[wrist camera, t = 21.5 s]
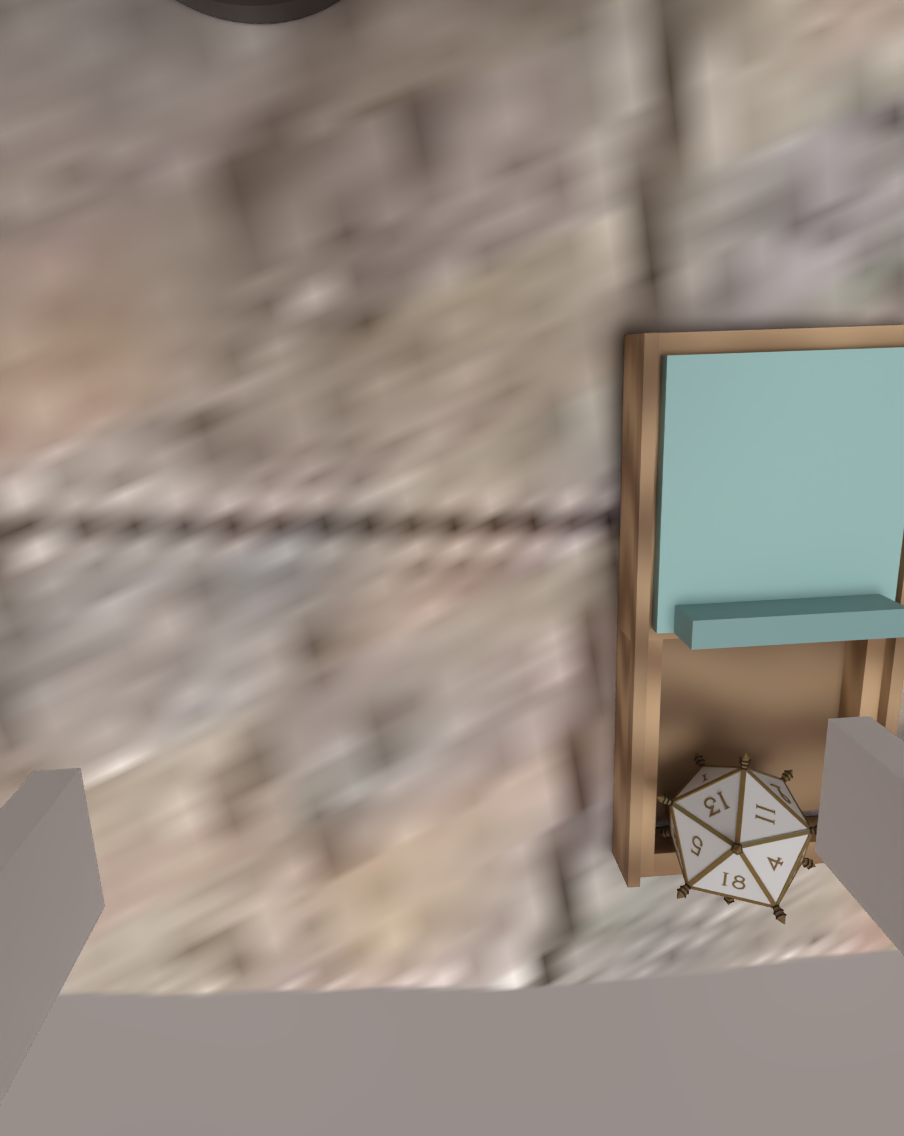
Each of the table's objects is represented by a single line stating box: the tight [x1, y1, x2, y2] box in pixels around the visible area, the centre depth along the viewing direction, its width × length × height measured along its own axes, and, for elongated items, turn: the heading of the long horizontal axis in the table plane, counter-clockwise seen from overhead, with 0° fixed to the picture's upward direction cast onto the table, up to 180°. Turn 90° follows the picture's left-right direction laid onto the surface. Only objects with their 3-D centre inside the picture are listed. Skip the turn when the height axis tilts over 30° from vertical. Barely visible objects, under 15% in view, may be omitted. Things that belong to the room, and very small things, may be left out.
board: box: [612, 325, 904, 887], centre depth 43 cm, size 30×15×3 cm, turn 2°
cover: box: [652, 347, 904, 650], centre depth 38 cm, size 14×13×3 cm
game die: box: [656, 753, 817, 924], centre depth 42 cm, size 9×8×10 cm
